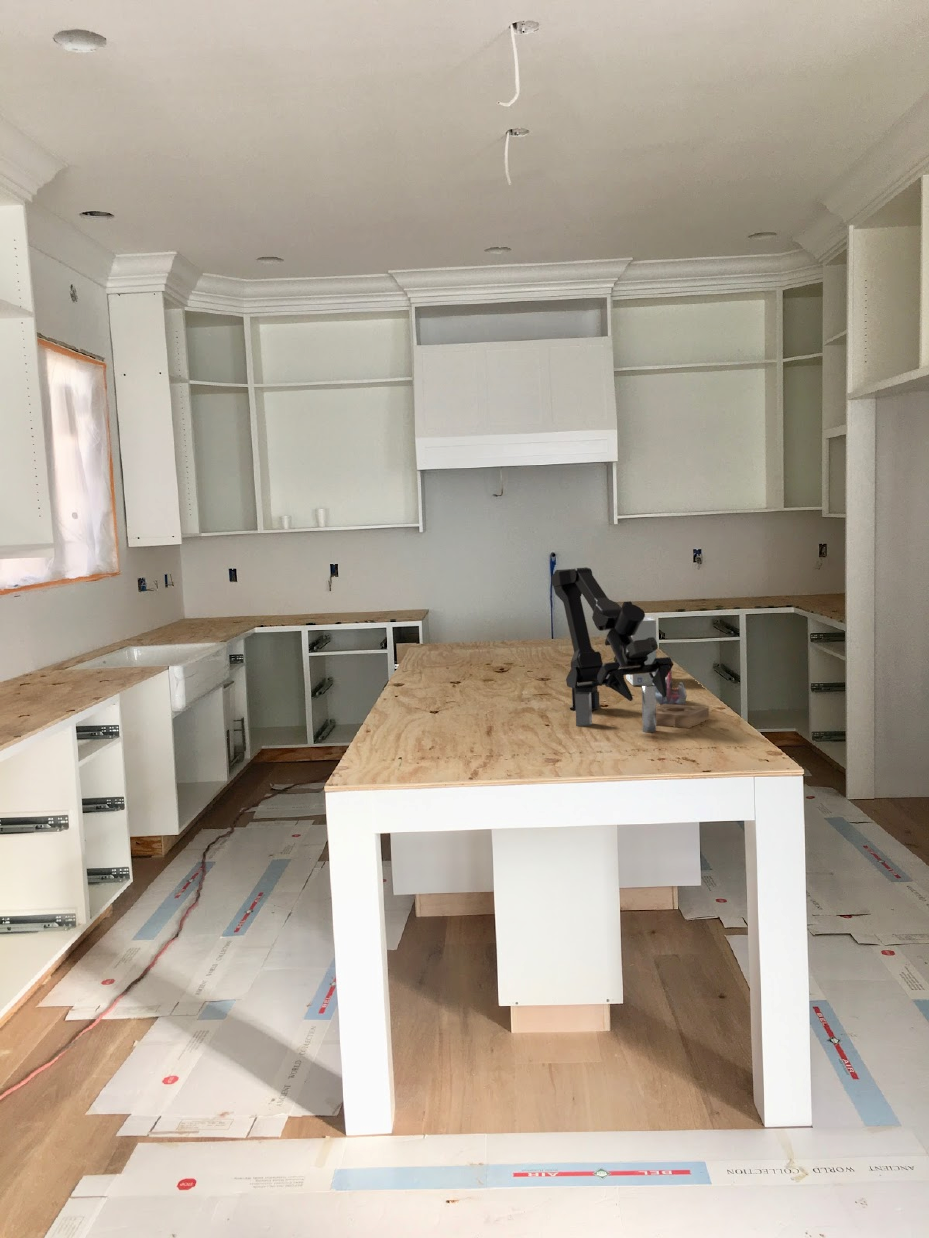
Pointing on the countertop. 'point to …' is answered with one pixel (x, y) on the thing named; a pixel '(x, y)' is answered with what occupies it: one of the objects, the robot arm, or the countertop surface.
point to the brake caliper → (671, 693)
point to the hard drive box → (643, 633)
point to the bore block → (680, 715)
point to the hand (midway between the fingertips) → (648, 698)
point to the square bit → (583, 709)
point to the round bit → (648, 708)
